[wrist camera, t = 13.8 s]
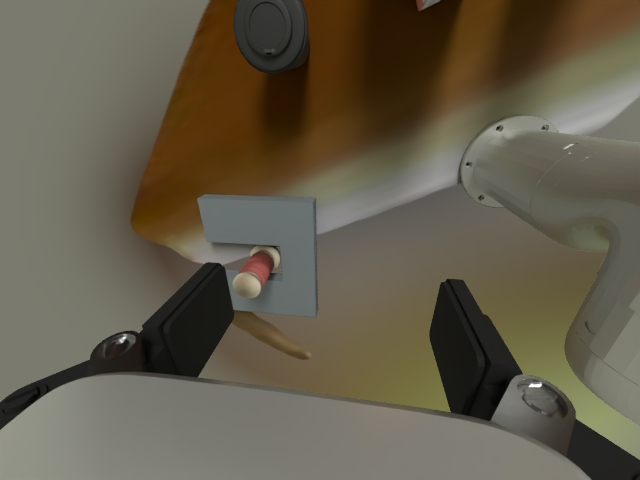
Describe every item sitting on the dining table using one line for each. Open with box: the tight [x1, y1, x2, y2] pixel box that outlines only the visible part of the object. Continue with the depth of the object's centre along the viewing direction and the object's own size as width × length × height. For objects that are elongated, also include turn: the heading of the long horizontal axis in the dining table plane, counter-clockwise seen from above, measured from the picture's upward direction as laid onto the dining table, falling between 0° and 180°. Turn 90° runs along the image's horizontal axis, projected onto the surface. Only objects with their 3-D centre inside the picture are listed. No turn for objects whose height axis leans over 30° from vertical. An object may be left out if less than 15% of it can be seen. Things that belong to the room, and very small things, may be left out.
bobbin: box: [233, 245, 281, 298], centre depth 47 cm, size 6×6×10 cm
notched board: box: [197, 194, 318, 318], centre depth 50 cm, size 20×24×2 cm
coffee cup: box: [233, 0, 310, 74], centre depth 31 cm, size 8×8×10 cm
